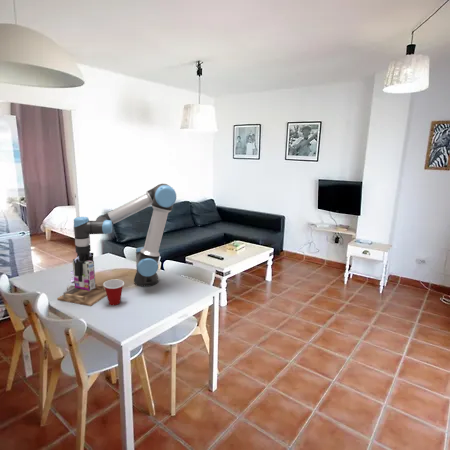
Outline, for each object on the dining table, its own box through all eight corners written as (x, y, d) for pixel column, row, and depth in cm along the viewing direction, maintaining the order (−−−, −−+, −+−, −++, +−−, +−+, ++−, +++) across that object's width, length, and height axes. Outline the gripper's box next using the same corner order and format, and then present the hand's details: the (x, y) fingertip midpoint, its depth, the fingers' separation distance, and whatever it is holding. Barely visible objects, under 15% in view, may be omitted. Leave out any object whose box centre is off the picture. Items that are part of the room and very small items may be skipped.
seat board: (111, 292, 187) (111, 284, 185) (90, 306, 170) (90, 297, 169) (80, 287, 193) (79, 279, 191) (57, 300, 176) (56, 291, 174)
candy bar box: (96, 288, 180) (94, 260, 177) (89, 291, 176) (87, 263, 172) (81, 284, 184) (78, 257, 180) (74, 288, 180) (71, 260, 176)
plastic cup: (114, 309, 166) (112, 288, 164) (100, 304, 172) (98, 284, 169) (129, 301, 176) (128, 281, 173) (115, 297, 181) (114, 277, 178)
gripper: (88, 240, 184) (90, 277, 189) (64, 248, 167) (68, 289, 172) (99, 241, 182) (101, 279, 187) (76, 250, 165) (79, 291, 170)
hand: (85, 284), depth 179 cm, fingers closed on candy bar box, 5 cm apart
